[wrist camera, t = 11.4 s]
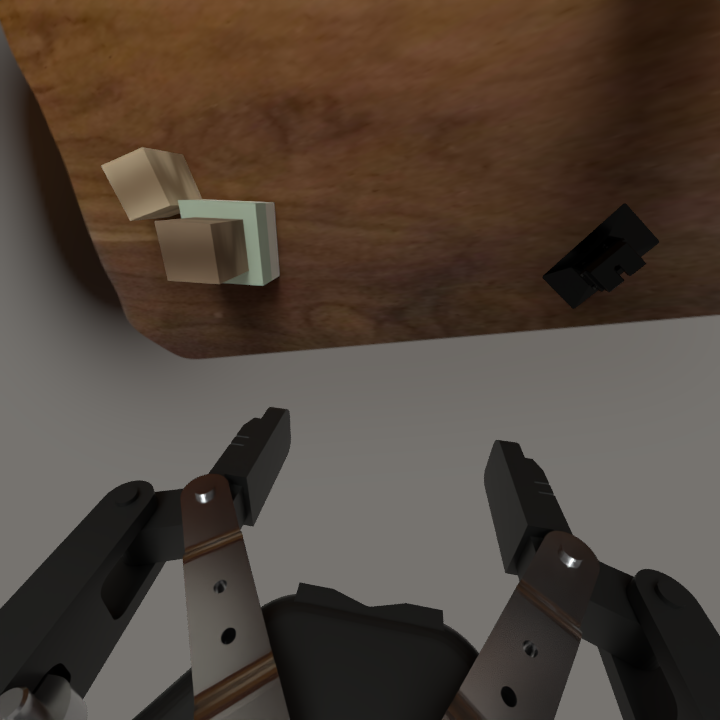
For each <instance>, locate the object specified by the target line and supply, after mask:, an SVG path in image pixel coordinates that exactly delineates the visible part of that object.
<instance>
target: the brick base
mask: <svg viewBox="0 0 720 720" xmlns="http://www.w3.org/2000/svg"><path fill="white" fill-rule="evenodd" d="M178 203H179V209H180V214H181V219H182V218H192V217H203V218H224V219H243V224H244V233H245V241H246V250H247V258H248V267H249V271H247V272H245V273H243V274H241V275H239V276H236V277H234V278H232V279H230V280H228V281H226V282H223V283H230V284H244V285H258V286H264V285H265V284H267V283H269V282H270V281H272V280H274V279H275V278H277V277H279V276H280V273H279V260H278V246H277V233H276V220H275V206H274V202H252V201H228V200H178Z"/></svg>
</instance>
